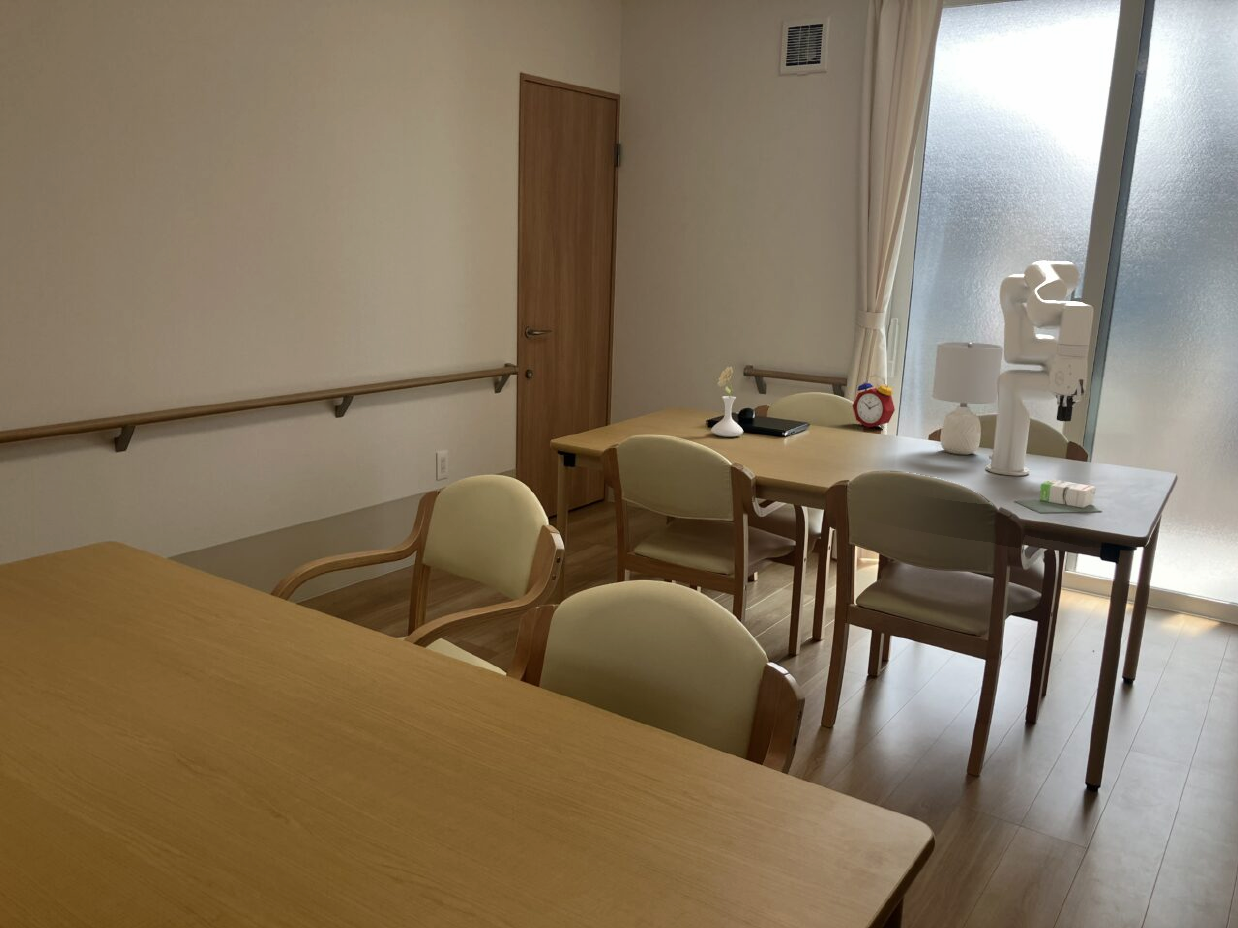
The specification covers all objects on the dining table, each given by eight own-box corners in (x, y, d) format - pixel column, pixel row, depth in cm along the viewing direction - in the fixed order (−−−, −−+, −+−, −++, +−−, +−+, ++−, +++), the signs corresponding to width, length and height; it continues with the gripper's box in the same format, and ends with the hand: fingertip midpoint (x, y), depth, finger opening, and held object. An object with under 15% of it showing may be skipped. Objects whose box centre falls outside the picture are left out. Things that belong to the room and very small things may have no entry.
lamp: (1003, 457, 329) (1016, 346, 321) (953, 460, 322) (965, 346, 314) (963, 445, 347) (974, 340, 339) (914, 448, 340) (925, 340, 332)
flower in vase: (711, 431, 359) (715, 362, 353) (743, 433, 357) (747, 364, 352) (709, 438, 346) (713, 367, 340) (742, 440, 344) (746, 368, 339)
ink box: (1038, 500, 272) (1083, 509, 264) (1040, 483, 270) (1085, 491, 263) (1050, 495, 278) (1094, 503, 270) (1052, 478, 277) (1096, 486, 269)
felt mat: (1014, 501, 271) (1014, 500, 271) (1073, 500, 274) (1073, 499, 274) (1039, 513, 259) (1039, 512, 259) (1101, 512, 263) (1101, 510, 263)
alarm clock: (850, 424, 381) (854, 373, 377) (863, 422, 387) (867, 371, 383) (884, 430, 371) (888, 377, 366) (896, 428, 377) (901, 376, 372)
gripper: (1042, 348, 266) (1034, 415, 270) (1077, 354, 252) (1067, 426, 256) (1068, 348, 267) (1059, 415, 271) (1103, 355, 253) (1094, 425, 257)
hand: (1063, 420), depth 264 cm, fingers closed
